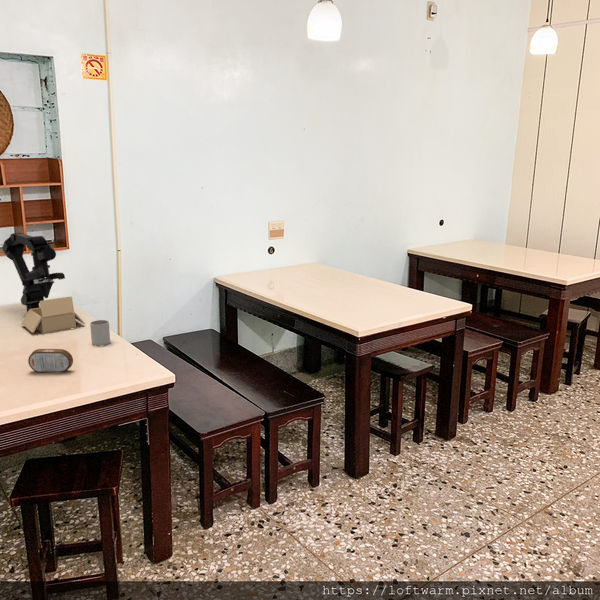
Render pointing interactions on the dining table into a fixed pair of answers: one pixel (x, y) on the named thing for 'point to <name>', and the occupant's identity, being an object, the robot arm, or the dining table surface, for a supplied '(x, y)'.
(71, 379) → the dining table surface
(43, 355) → the tin
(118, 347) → the dining table surface
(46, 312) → the flap
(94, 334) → the cup
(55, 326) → the carton
